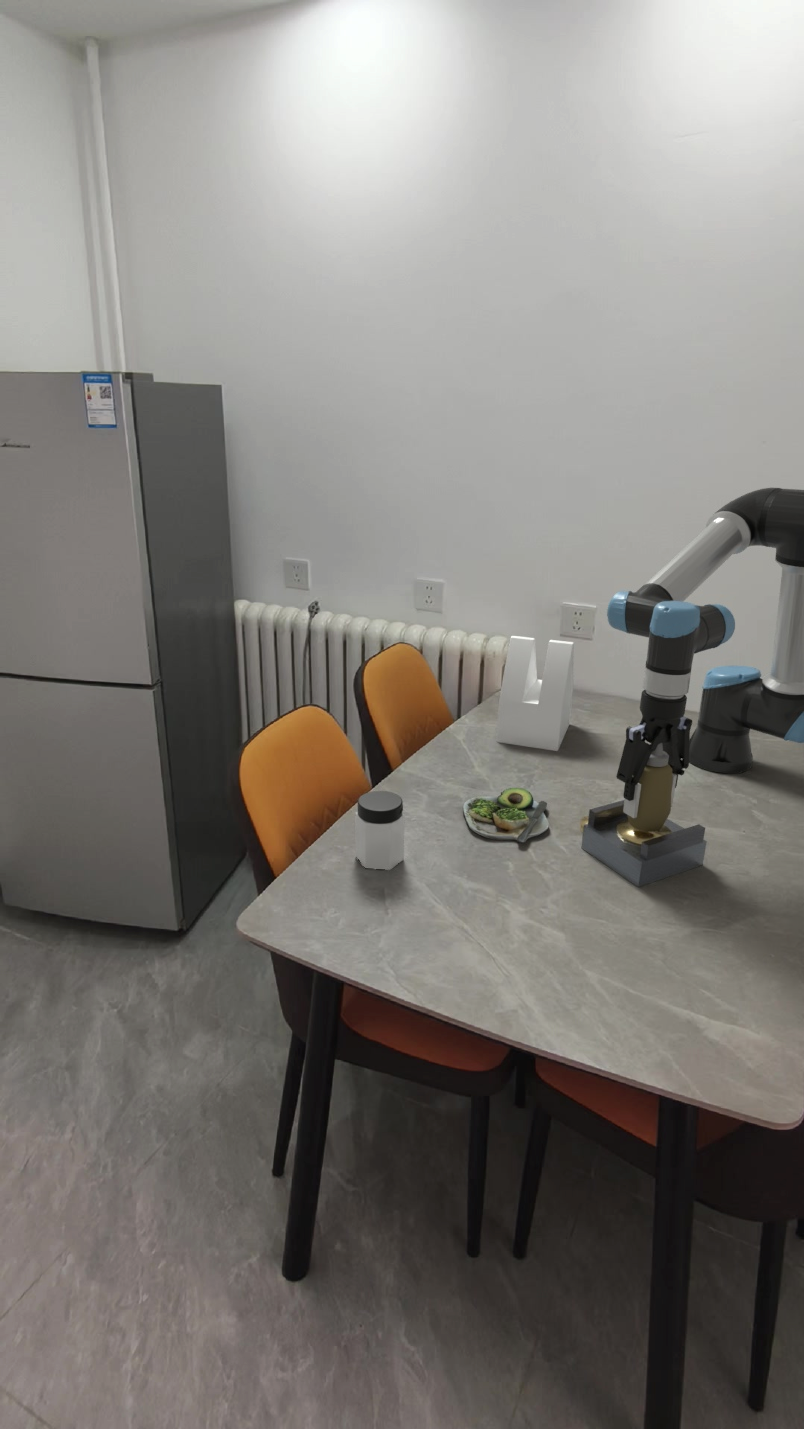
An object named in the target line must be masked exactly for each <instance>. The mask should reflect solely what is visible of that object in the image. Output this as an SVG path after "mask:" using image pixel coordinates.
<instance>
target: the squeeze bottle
mask: <svg viewBox="0 0 804 1429" xmlns="http://www.w3.org/2000/svg"><path fill="white" fill-rule="evenodd" d="M668 759H669V755H668V754H667V753H666V752H664V751H663V744H662V743H660V744H658V746H657V748H656V750H655V751H652V753H651V755H650V758H649V760H648V762H647V764H646V766H645V769H644V771H643V773H642V775H641V777H640V780H639V782H638V783H639V784H641V791H640V798H639V805H638V812H637V817H636V818H632V817H631V816H629V815H627V816H628V820H629V823H630V825H631V826H632V827H634V828H636V829H638V830H641V831H646V832H654V831H658V830H660V829H661V828H662V826H663V825H664V823H665V821H666V819H668V818H669V816H670V814H671V810H672V807H671V791H672V768H671V767H670V765H669V764H668ZM632 777H633V776H632Z"/></svg>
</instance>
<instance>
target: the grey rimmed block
mask: <svg viewBox="0 0 804 1429" xmlns="http://www.w3.org/2000/svg"><path fill="white" fill-rule="evenodd" d="M624 801H625V799H623V800H619V801H615V802H612V803H608V804H604V805H601V806H598V807H594V808H593V807H592V808H590V809H589V812H588V816H589V819H588V824H585V825H584V828H583V834H582V838H581V846H580V847H581V849H582V850H584V851H585V852H586V853H588V854H590V855H591V856H592V857H594V858H595V859H597V860H598V861H599V862H601V863H602V864H604V865H605V866H606V867H608V868H610V869H611V870H612V871H614V872H615V873H617V874H618V875H620V876H621V877H623V879H625V880H627V881H628V882H629V883H631V884H633V885H634V886H635V887H638V888H640V887H642V886H645V885H646V886H647V885H649V884H651V883H654V882H658V881H661V880H663V879H666V878H669V877H672V876H675V875H677V874H680V873H683V872H687V871H689V870H692V869H696V868H698V867H701V866H703V864H704V859H705V852H706V848H707V840H705V834H706V833H705V832H706V827H705V826H703V825H701V824H698V823H697V824H696V825H692V826H689V827H686V828H684V827H683V826H681V825H679V824H677V823H676V822H673V821H672V820H670V819H668V818H667V819H666V821H665V823H664V825H663V826H662V828H661V829H660V830H658V831H654V832H646V831H641V830H638V829H636V828H634V827H632V826H631V825H630V823H629V820H628V816H627V814H626V813H624V812H623V808H624Z"/></svg>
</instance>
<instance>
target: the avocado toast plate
mask: <svg viewBox="0 0 804 1429" xmlns="http://www.w3.org/2000/svg"><path fill="white" fill-rule="evenodd" d="M547 807H548V803H547V802H546V801H545V800H541V801H536V800H534V797H533V795H532V793H531V792H530V791H528V790H527V789H525V788H522V787H510V788H506V789H504V790H503V791H501V792H500V795H498V796H474V797H472V798H469V799H467V800H466V801H465V802H464V803H463V805H462V814H463V815H464V817H465V820H466V824H468V827H469V829H471V831H473V832H474V833H476V834H477V835H478V836H479V835H480V836H482V837H483V838H484V837H485V838H486V839H487V838H488V839H490V840H496V841H497V840H498V841H509V840H510V841H516V842H518V843H526V841H527V840H528V839H530V838H533V837H537V836H539V835H541V834H543V833H545V832H547V830H548V829H549V826H550V824H549V821H548V819H547V817H546V814H545V813H544V811H545V810H546V809H547ZM476 820H477V821H479V822H483V823H489V824H492V825H494V826H496V827H497V828H496V829H497V830H498V831H497V832H490V831H487V830H485V829H483V828H481V827H480V826H479V824H477V822H476Z"/></svg>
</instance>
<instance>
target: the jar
mask: <svg viewBox="0 0 804 1429" xmlns="http://www.w3.org/2000/svg"><path fill="white" fill-rule="evenodd" d="M403 802H404V801H403V798H402V797H401V796H400V795H399V794H397V793H395V792H391V791H387V790H373V791H368V792H366V793H365V792H364V793H363V794H362V795H360V796H359V797H358V798H357V811H355V813H354V815H355V817H354V819H355V820H354V823H355V824H354V826H355V830H354V832H355V835H354V836H355V837H354V838H355V842H354V843H355V844H354V845H355V855H356V856H357V858H358V859H359V860H360V862H361V863H362V864H363V865H364V867H366V868H376V869H385V870H384V871H391V870H392V869H393V868H395V867H396V866H397V865H398V863H399V864H400V863H401V862H402V861H404V858H405V828H406V827H405V824H406V822H405V821H406V820H405V819H406V817H405V816H406V815H405V814H404V813H403V811H404V803H403ZM357 858H356V859H357ZM358 859H357V860H358ZM360 862H359V863H360ZM361 863H360V864H361ZM362 864H361V865H362ZM363 865H362V866H363ZM364 867H363V868H364ZM376 869H375V870H376Z"/></svg>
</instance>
